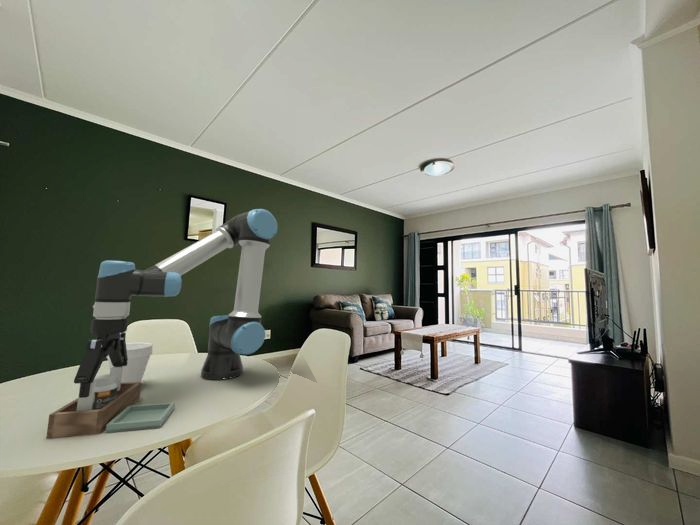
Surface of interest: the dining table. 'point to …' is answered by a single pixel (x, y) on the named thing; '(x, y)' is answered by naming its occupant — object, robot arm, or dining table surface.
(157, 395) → the dining table surface
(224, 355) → the robot arm
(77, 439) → the dining table surface
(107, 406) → the caddy
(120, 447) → the dining table surface
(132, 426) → the tray
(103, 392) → the pill bottle
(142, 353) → the white flower pot
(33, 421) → the dining table surface
